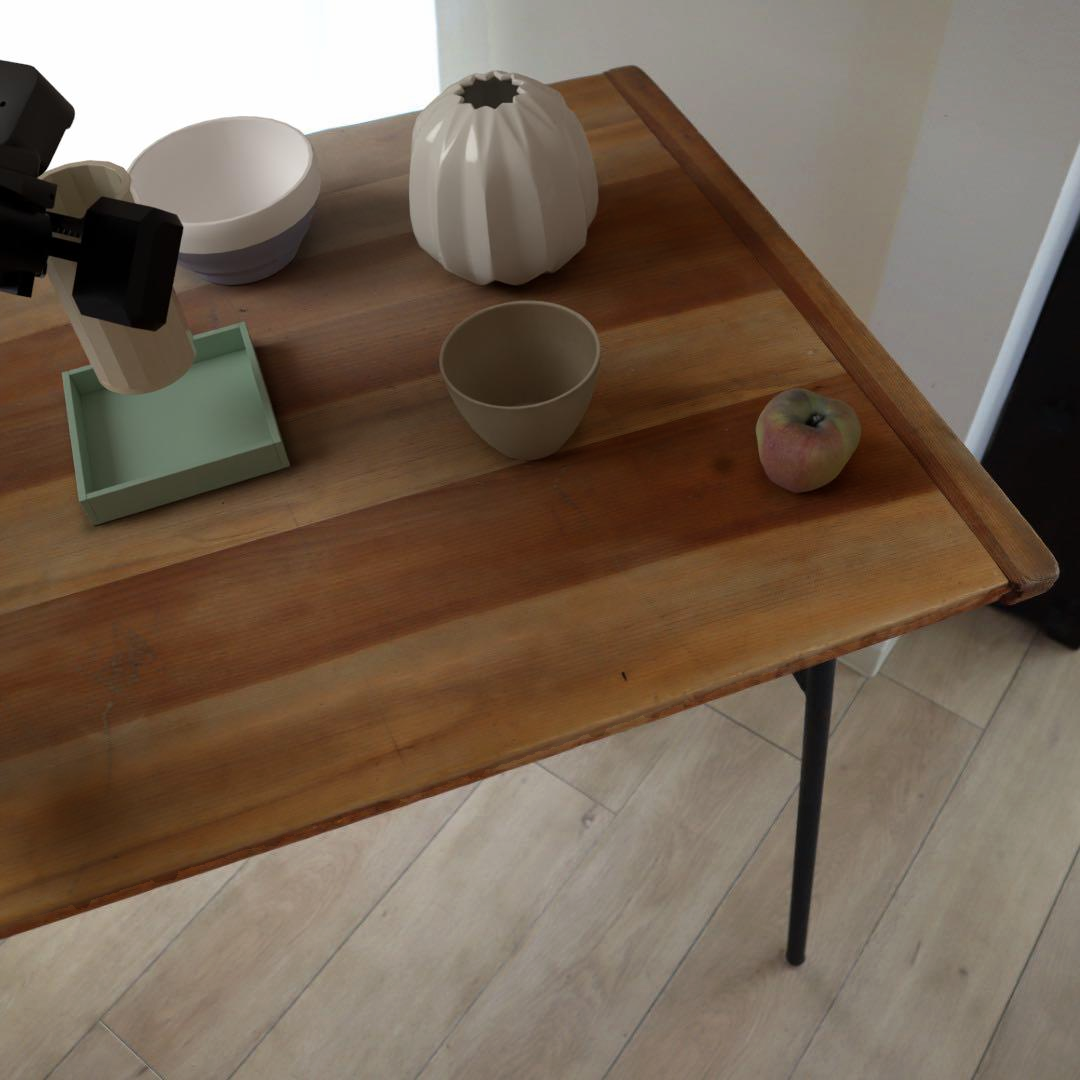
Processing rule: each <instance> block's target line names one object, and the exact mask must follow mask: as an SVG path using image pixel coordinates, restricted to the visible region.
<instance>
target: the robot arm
mask: <svg viewBox="0 0 1080 1080" xmlns="http://www.w3.org/2000/svg"><path fill="white" fill-rule="evenodd" d="M75 118H76V109H75V107H74V106H73V105H72V103H70V102H69V101H68V99H66V97H64V95H62V93H61V92H60V91H59V90H58V89H56V87H55V86H54V85H53V84H52V83H51V82H50V81H49V80H48V79H47V78H46V77H45V76H44V75H43V74H42V73H41V72H40V71H39V70H38V68H36V67H35V66H33V65H31V64H27V63H26V64H25V63H20V62H16V61H10V60H4V59H0V292H2V293H7V294H10V295H15V296H17V297H18V296H19V297H22V298H23V297H24V298H29V299H32V295H33V290H34V284H35V278H38V279H44V278H45V277H46V276H47V274H46V273H47V267H48V264H47V260H48V257H49V256H52V257H56V258H60V259H64V260H69V261H73V262H77V268H76V273H75V279H74V285H73V291H72V297H73V299H74V301H75V303H76V305H77V307H78V309H79V312H80V314H81V315H84V316H88V317H92V318H96V319H100V320H103V321H107V322H111V323H115V324H119V325H123V326H127V327H131V328H136V329H142V330H148V331H154V332H156V331H157V330H158V329H160V328H161V327H162V326H163V325H165V324H166V321H167V315H168V310H169V304H170V299H171V294H172V288H173V287H174V282H175V277H176V272H177V266H178V264H177V261H178V256H179V250H180V245H181V239H182V234H183V229H184V227H183V225H182V223H181V221H180V219H179V218H178V216H177V214H173V213H170V212H167V211H164V210H161V209H158V208H155V207H150V206H146V205H141V204H136V203H132V202H127V201H122V200H118V199H113V198H108V197H104V196H101V197H100V198H99V199H98V200H97V201H96V202H95V203H94V204H93V205H92V206H90V207H89V208H88V209H87V210H86V213H85V215H84V216H83V217H82V218H76V217H71V216H67V215H62V214H58V213H53V212H49V211H46V208H48V209H53V208H54V204H55V198H56V192H57V186H58V185H57V184H54V183H50V182H47V181H44V180H41V179H38V177H39V176H41V175H42V174H43V173H44V172H46V171H48V169H49V167H50V165H51V163H52V161H53V158H54V156H55V154H56V152H57V150H58V148H59V145H60V144H61V141H62V139H63V137H64V135H65V133H66V131H67V130H69V129H71V128H72V125H73V124H74V122H75ZM52 232H54V233H58V234H63V235H68V236H71V237H76V238H80V239H81V243H77V242H73V241H69V240H64V239H60V238H56V237H52Z"/></svg>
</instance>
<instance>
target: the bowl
mask: <svg viewBox="0 0 1080 1080" xmlns="http://www.w3.org/2000/svg"><path fill="white" fill-rule="evenodd" d="M126 171H127V173H128V174H129V175H130V177H131V179H132V181H133V184H134V187H135V189H136V192H137V194H138V197H139V199H140V202H141V205H146V206H150V207H155V208H158V209H161V210H164V211H167V212H170V213H173V214H177V216H178V218H179V219H180V221H181V223H182V225H183V227H184V229H183V234H182V239H181V245H180V250H179V256H178V261H177V266H179V267H182V268H184V269H185V270H188V271H191V272H192V273H193V274H194V275H196V276H197V277H199V278H201V279H202V280H204V281H207V282H209V283H212V284H216V285H222V286H223V285H225V286H226V285H227V286H235V285H245V284H250V283H255V282H257V281H261V280H264V279H266V278H269V277H271V276H272V275H275V274H277V273H278V272H279V271H281V270H283V269H284V268H285V267H286V266H288V264H290V263H291V262H292V260H293V259H294V258H295V257H296V255H297V253H298V250H299V249H300V246H301V242H302V241H303V239H304V238H305V236H306V235H307V232H308V230H309V229H310V226H311V223H312V217H313V215H314V213H315V210H316V208H317V205H318V200H319V195H320V192H321V185H322V179H321V171H320V166H319V161H318V157H317V154H316V151H315V149H314V145H313V144H312V142H311V141H310V139H309V138H308V136H307V135H305V134H304V133H303V132H302V131H301V130H300V129H298V128H297V127H294V126H293V125H291V124H289V123H287V122H284V121H280V120H278V119H273V118H271V117H270V118H269V117H264V116H263V117H262V116H253V115H252V116H251V115H249V116H248V115H246V116H245V115H237V116H228V117H227V116H226V117H217V118H213V119H208V120H203V121H200V122H196V123H193V124H190V125H187V126H184V127H182V128H179V129H177V130H175V131H172V132H170V133H168V134H166V135H164V136H162V137H160V138H159V139H157V140H156V141H154V142H152V143H151V144H150V145H149V146H147V147H146V148H144V149H143V150H142V151H141V152H140V153H139V154H138V155H137V156H136V157H135V158H133V161H132V162H131V163H130V165H129V166H128V168H127V169H126Z"/></svg>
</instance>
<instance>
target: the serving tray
mask: <svg viewBox="0 0 1080 1080" xmlns="http://www.w3.org/2000/svg"><path fill="white" fill-rule="evenodd" d="M192 336H193V341H194V344H195V347H196V356H195V360H194V362H193V364H192V366H191V367H190V369H189V370H188V371H187V372H186V373H185V374H184V375H183V376H182V377H181V378H180V379H179V380H177V381H176V382H174V383H173V384H171V385H169V386H167V387H165V388H163V389H160V390H158V391H154V392H151V393H146V394H140V395H124V394H118V393H115V392H112V391H110V390H108V389H106V388H105V387H104V386H103V385H102V384H101V383H100V382H99V380H98V378H97V376H96V374H95V372H94V371H93V369H92V367H91V365H90V364H87V365H84V366H80V367H76V368H74V369H70V370H66V371H63V372H61V378H62V384H63V392H64V399H65V406H66V407H65V408H66V414H67V421H68V430H69V437H70V442H71V443H70V445H71V452H72V459H73V466H74V474H75V482H76V489H77V496H78V503H79V504H80V506H81V508H82V509H83V511H84V513H85V514H86V516H87V518H88V520H89V522H90V524H91V526H93V527H94V526H97V525H101V524H104V523H107V522H111V521H114V520H118V519H121V518H124V517H127V516H131V515H134V514H137V513H140V512H141V513H142V512H144V511H148V510H150V509H154V508H158V507H160V506H164V505H168V504H170V503H173V502H177V501H181V500H184V499H187V498H191V497H193V496H197V495H200V494H203V493H207V492H210V491H213V490H216V489H220V488H223V487H227V486H230V485H232V484H236V483H241V482H243V481H246V480H250V479H253V478H256V477H259V476H263V475H266V474H270V473H272V472H273V473H274V472H277V471H279V470H283V469H286V468H290V466H291V464H290V461H289V457H288V455H287V451H286V448H285V445H284V441H283V439H282V434H281V432H280V428H279V425H278V422H277V418H276V415H275V412H274V409H273V405H272V402H271V399H270V395H269V392H268V388H267V384H266V381H265V378H264V376H263V372H262V368H261V365H260V362H259V359H258V355H257V352H256V349H255V346H254V343H253V340H252V337H251V334H250V330H249V329H248V325H247V322H246V321H245V320H244V321H240V322H237V323H234V324H229V325H227V326H223V327H219V328H215V329H212V330H208V331H206V332H201V333H197V334H194V335H192Z"/></svg>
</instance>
